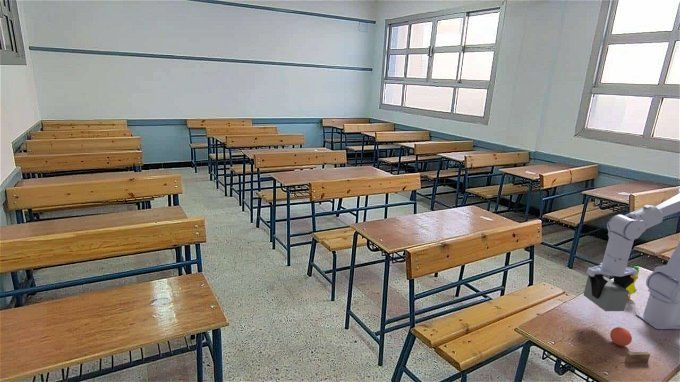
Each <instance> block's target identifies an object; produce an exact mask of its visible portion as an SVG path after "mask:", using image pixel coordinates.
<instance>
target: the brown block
mask: <svg viewBox="0 0 680 382" xmlns="http://www.w3.org/2000/svg"><path fill="white" fill-rule="evenodd" d="M650 358H651V353H649V352H648V351H632V352H631V351H628V352H626V355H625V358H624V361H625V362H626V363H627V364H628V363H633V364H634V363H649V360H650Z"/></svg>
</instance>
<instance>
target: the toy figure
mask: <svg viewBox="0 0 680 382" xmlns="http://www.w3.org/2000/svg"><path fill="white" fill-rule="evenodd" d="M633 268H634V269H635V270H637V271H638V272H637V275H636V277H633V276H631V278H633V279H634V283H632V284H631V285H629V286H628V287H627V288H626V290H628V291H629V295H628V299H627V300H630V299H631V295H633V294H635V293H636V292H637V288H636V286H635V283H636V281H637V280H638V279H639V274H640V267H639V266H637V265H634V266H633Z"/></svg>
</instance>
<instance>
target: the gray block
mask: <svg viewBox="0 0 680 382" xmlns="http://www.w3.org/2000/svg"><path fill="white" fill-rule="evenodd" d="M603 277H604V279H605V280H607V281H608V282H607V283H606V284H605V286H604V287H603V289H602V292H601V295H600V297H599V298H595V297H594V296H592V288H591V282H590V278H589V276H587V278H586V279H587V280H586V283H585V286H584V291H583V296H584V297H585V298H587V299H588V300H589V301H590V302H592V303H593V304H595V305H596V306H598V307H599V308H600V309H602V310H603V311H604V312H625V309H626V305H627V302H628V300H629V299H628V296H629V291H628V290H626V289H624V288H623V287H621V286H620V285H618V284H616V283H615V282H614V280H611V279H610V278H608V277H606V276H603Z"/></svg>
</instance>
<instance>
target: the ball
mask: <svg viewBox="0 0 680 382" xmlns="http://www.w3.org/2000/svg"><path fill="white" fill-rule="evenodd" d="M609 333H610V334H609V336H610V339H611V341H612V342H613V343H614V344H616V345H618V346H622V347H626V346H629V345H630V344H631V343H632V341H633V337H632V334H631V333H630V331H629V330H627V329H626V328H624V327H621V326H618V327H614V328H613V329H611V331H610V332H609Z"/></svg>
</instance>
